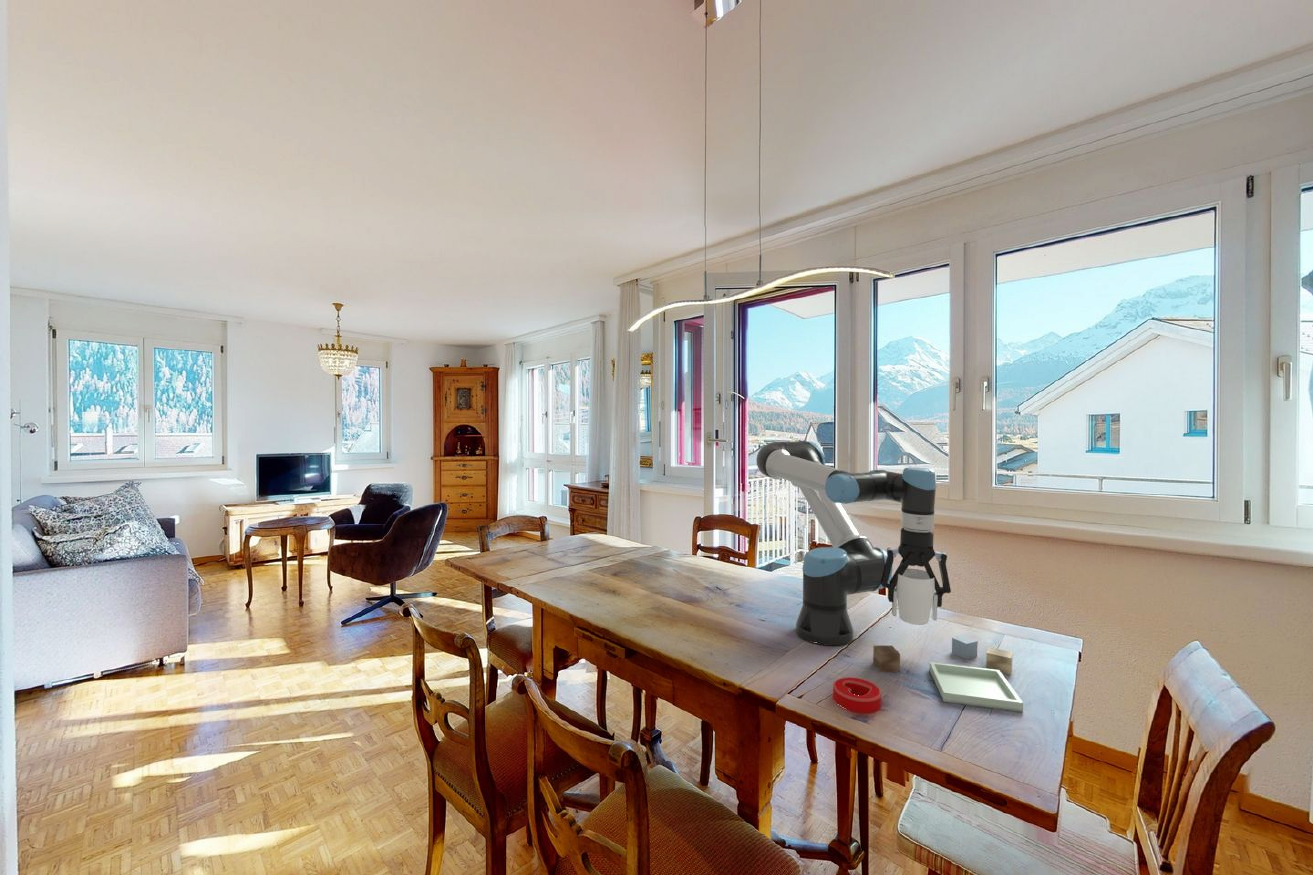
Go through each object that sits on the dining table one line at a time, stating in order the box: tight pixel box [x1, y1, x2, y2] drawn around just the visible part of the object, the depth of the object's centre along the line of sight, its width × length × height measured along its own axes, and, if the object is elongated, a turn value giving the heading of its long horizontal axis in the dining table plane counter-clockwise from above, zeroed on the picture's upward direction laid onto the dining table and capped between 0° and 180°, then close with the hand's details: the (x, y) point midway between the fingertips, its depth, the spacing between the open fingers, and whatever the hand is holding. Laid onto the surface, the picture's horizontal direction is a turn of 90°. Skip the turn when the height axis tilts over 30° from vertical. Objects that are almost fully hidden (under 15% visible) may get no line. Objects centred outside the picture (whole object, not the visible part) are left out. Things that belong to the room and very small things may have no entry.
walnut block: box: [872, 644, 901, 673], centre depth 129 cm, size 4×4×4 cm
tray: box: [928, 661, 1024, 713], centre depth 118 cm, size 15×15×2 cm
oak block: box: [985, 646, 1014, 675], centre depth 128 cm, size 5×4×4 cm
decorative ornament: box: [832, 676, 882, 715], centre depth 114 cm, size 10×10×3 cm
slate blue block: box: [951, 634, 979, 660], centre depth 136 cm, size 4×4×4 cm
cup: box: [895, 568, 936, 626], centre depth 136 cm, size 9×9×12 cm
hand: (913, 616), depth 136 cm, fingers closed on cup, 9 cm apart
